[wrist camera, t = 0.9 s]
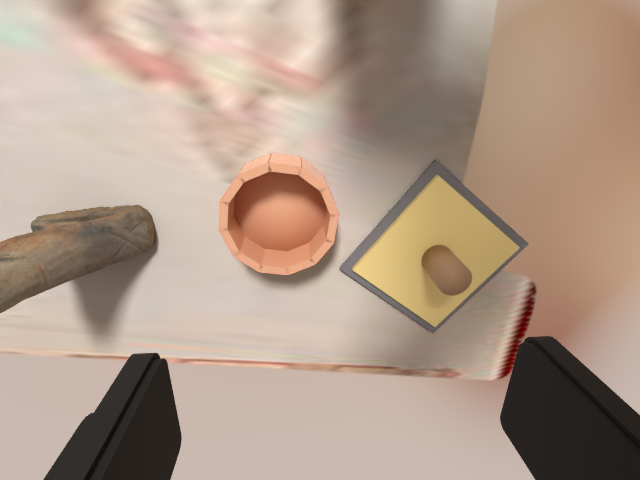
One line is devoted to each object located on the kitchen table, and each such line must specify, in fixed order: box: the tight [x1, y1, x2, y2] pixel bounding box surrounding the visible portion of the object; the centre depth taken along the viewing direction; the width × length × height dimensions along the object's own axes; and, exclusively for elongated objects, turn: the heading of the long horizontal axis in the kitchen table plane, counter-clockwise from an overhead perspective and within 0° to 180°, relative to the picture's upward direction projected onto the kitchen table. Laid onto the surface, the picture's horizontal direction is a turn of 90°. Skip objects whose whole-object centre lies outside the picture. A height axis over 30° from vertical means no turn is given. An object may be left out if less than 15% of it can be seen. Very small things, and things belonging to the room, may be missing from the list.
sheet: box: [352, 174, 520, 327], centre depth 38 cm, size 14×14×6 cm
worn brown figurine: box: [0, 205, 155, 313], centre depth 30 cm, size 12×6×18 cm, turn 90°
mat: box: [340, 160, 528, 333], centre depth 41 cm, size 16×16×1 cm
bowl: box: [219, 153, 339, 275], centre depth 35 cm, size 11×11×5 cm
